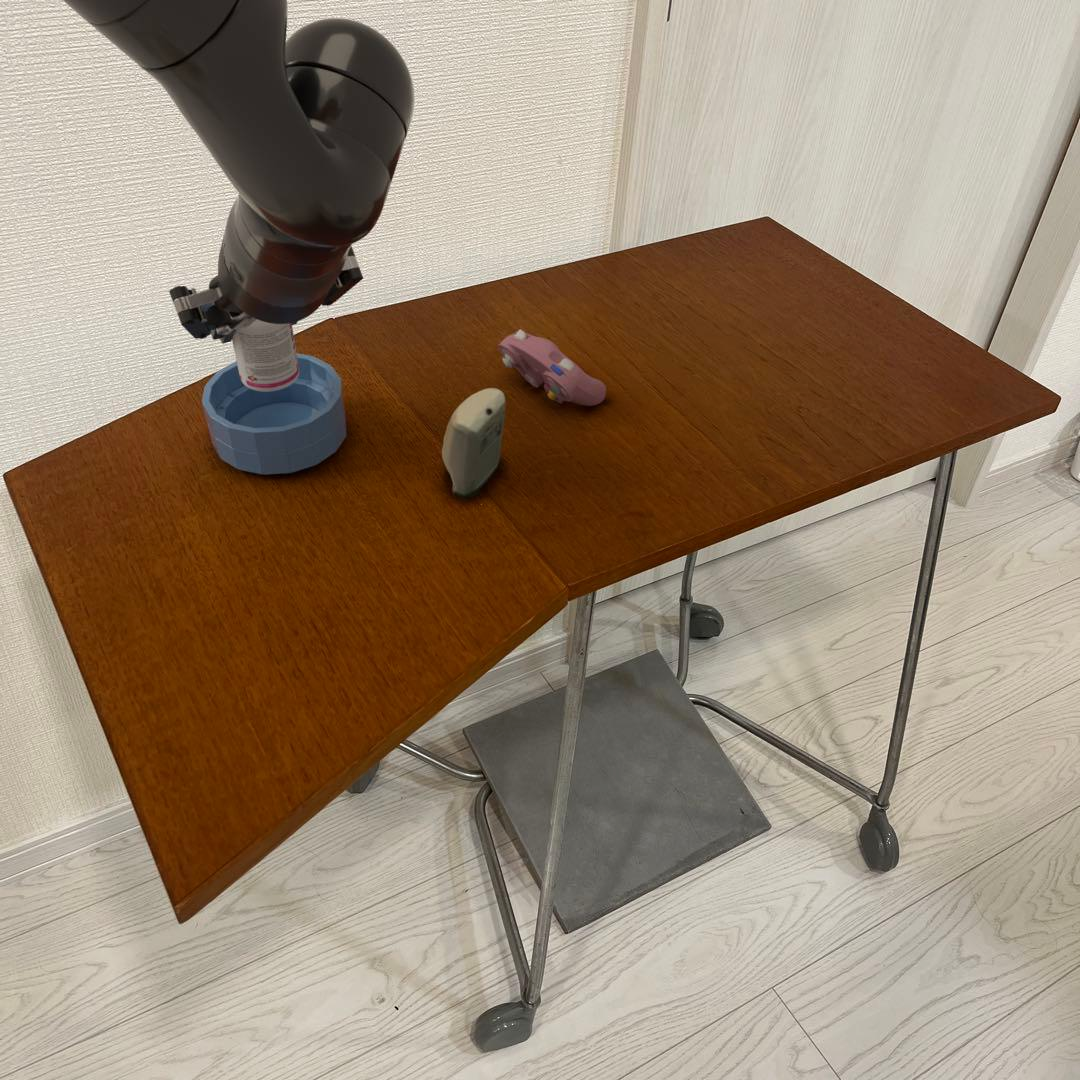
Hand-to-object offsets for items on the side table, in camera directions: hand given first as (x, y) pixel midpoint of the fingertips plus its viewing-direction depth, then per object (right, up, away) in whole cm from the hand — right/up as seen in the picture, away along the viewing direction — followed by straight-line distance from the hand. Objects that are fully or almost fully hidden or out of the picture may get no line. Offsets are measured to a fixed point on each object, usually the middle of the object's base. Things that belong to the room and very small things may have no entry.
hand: (254, 321), depth 81 cm
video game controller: (+24, -4, +12) cm, 27 cm away
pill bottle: (+1, -4, +2) cm, 5 cm away
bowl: (+1, -9, +6) cm, 11 cm away
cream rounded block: (+17, -13, +3) cm, 22 cm away
